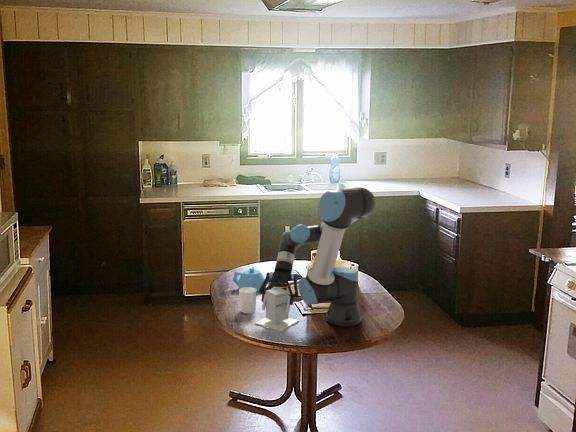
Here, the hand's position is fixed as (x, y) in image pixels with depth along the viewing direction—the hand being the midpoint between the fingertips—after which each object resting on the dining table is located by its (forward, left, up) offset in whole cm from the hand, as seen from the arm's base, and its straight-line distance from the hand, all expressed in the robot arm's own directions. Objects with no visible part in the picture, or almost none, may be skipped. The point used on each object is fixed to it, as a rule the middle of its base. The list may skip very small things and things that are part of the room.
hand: (275, 310), depth 262 cm
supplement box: (+1, -3, -5) cm, 6 cm away
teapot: (+36, -32, -7) cm, 49 cm away
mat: (+1, -3, -7) cm, 8 cm away
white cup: (+20, -7, -7) cm, 22 cm away
